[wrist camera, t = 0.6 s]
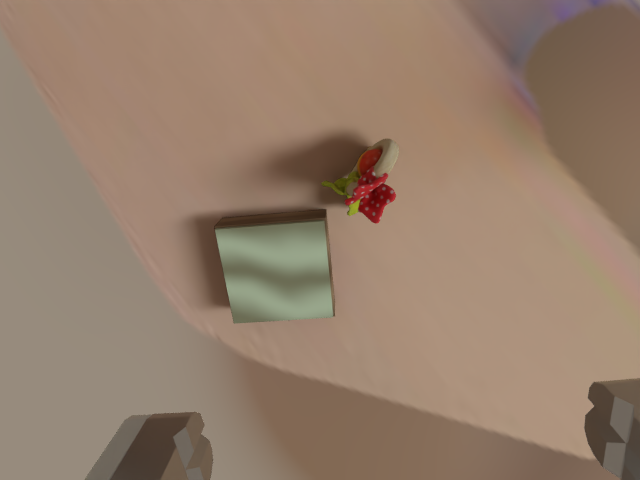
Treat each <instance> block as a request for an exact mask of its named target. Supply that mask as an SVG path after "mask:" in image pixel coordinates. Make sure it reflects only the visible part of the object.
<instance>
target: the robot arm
mask: <svg viewBox="0 0 640 480" xmlns="http://www.w3.org/2000/svg"><path fill="white" fill-rule="evenodd" d="M588 399H589V400H590V401H591V402H592V403H593V405H594V407H593V408H592V409H591V410H590V411H589V412H588V413H587V414H586V415H585V427H584V429H585V433H586V437H587V441H588V444H589V446H590V448H591V450H592V452H593V454H594V456H595V457H596V458H597V460H598V461H599V463H600V464H601V466H602V467H603V468H605V469H606V470H608V471H609V472H611V473H612V474H614V475H616V476H617V477H619V478H620V480H640V378H637V379H625V380H613V381H601V382H594V383H593V384H592V385H591V386H590V388H589V394H588ZM203 428H204V422H203V420H202V417H201V414H200V413H197V412H185V413H164V414H153V415H133V416H130V417H129V418H128V419H126V420H125V421H124V422H123V424H122V425H121V427H120V428H119V429H118V431H117V432H116V434H115V435H114V437H113V438H112V440H111V441H110V443H109V444H108V446H107V447H106V449H105V450H104V452H103V453H102V455H101V456H100V458H99V459H98V460H97V462H96V464H95V465H94V466H93V468H92V470H91V471H90V472H89V474H88V475H87V477H86V478H85V480H210V478H211V473H212V464H213V455H212V447H211V444H210V441H209V440H208V439H207V438H206V437H204V436H203V435H202V434H201V433H202V430H203Z"/></svg>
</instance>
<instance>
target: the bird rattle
mask: <svg viewBox="0 0 640 480" xmlns="http://www.w3.org/2000/svg"><path fill="white" fill-rule="evenodd" d="M398 154H399V147H398V145H397V144H396V143H395V142H394V141H393V140H391V139H383V140H381V141H379V142H377V143H376V144H374V145H373V146H370V147H368V148H367V150H366V152H364V153H363V154H362V155H361V156H360V158H359V160H358V162H357V164H356V165H355V167H354V168H353V170H352V172H351V173H350V174H349V176H348V178H347V179H346V178H340V179H338V180H336V182H335V183H331V182H329V181H324V182H322V183H321V184H322V185H323V186H327V187H331V188H332V189H333V190H334V191H335V192H336V193H337V194H339V195H346V196H347V199H346V200H345V201H344V202H345V204H346V205H349V211H348V212H347V214H348V215H349V216H351V215H353V214H355V213H357V212H362V213H363V214H364V215H365V216H366V217H367V218H368V219H370V221H372V222H373V223H379V221H380V219H381V216H382V213H383V210H384V207H385V206H386V205H387V204H389V203H391V202H393V201H394V199H395V197H396V194H395V192H394V190H393V189H392V188H391V187H389V186H388V185H385V184H384V182H385V181H386V179H387V177H388V174H389V173H390V171H391V170H392V168H393V166H394V164H395V162H396V160H397V158H398Z"/></svg>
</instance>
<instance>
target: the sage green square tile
mask: <svg viewBox="0 0 640 480" xmlns="http://www.w3.org/2000/svg"><path fill="white" fill-rule="evenodd" d="M214 229H215V233H216V238H217V243H218V248H219V253H220V258H221V263H222V268H223V273H224V277H225V282H226V287H227V292H228V297H229V302H230V307H231V312H232V317H233V321H234V323H249V322H265V321H281V320H297V319H314V318H330V317H333V316H335V299H334V288H333V277H332V266H331V255H330V245H329V234H328V223H327V212H326V210H313V211H301V212H289V213H277V214H264V215H252V216H240V217H228V218H222V219H221V220H220V221H219V222H218V223H217V224H216V225H215V226H214Z"/></svg>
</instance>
